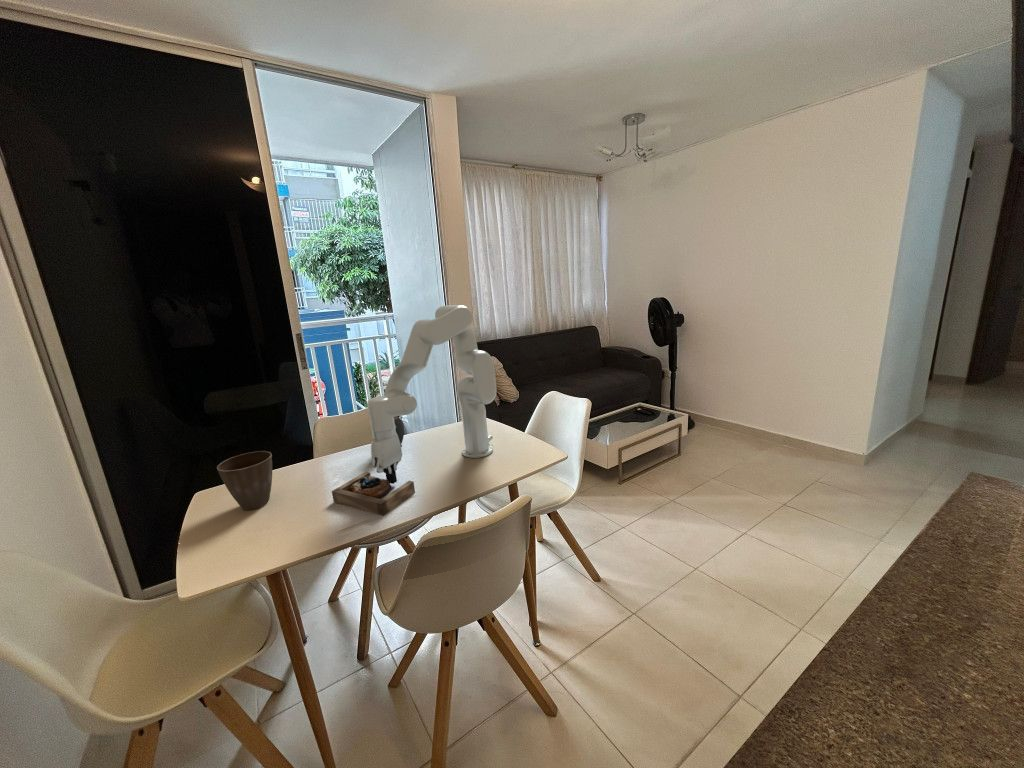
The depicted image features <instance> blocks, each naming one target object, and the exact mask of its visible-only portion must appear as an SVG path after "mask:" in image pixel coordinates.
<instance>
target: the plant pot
mask: <svg viewBox="0 0 1024 768" xmlns="http://www.w3.org/2000/svg"><path fill="white" fill-rule="evenodd" d="M272 458H273V455H272V452H271V451H266V450H262V451H261V450H259V451H251V452H247V453H246V452H245V453H242V454H239V455H235V456H232V457H230V458H228V459H225V460H223V461H222V462H220V463H219V464H218V465H216V469H217V472H218V474H219V477H220V478H221V481H222V482H223V484H224V486H225V487H226V490H228V492H229V494H230V495H231V496H232V498H233V499H234V500H235V502H236V503H237V504H238V505H239V506H240V507H241V508H242V509H243V510H244V511H252V510H251V509H254V510H257V509H260V508H262V507H264V506H265V504H266V503H267V502H268V501H270V497H271V493H272V492H271V491H272V483H273V459H272ZM268 503H269V502H268ZM268 503H267V504H268ZM267 504H266V505H267ZM263 505H264V506H263ZM261 506H262V507H261ZM259 507H260V508H259ZM256 508H257V509H256Z"/></svg>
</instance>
